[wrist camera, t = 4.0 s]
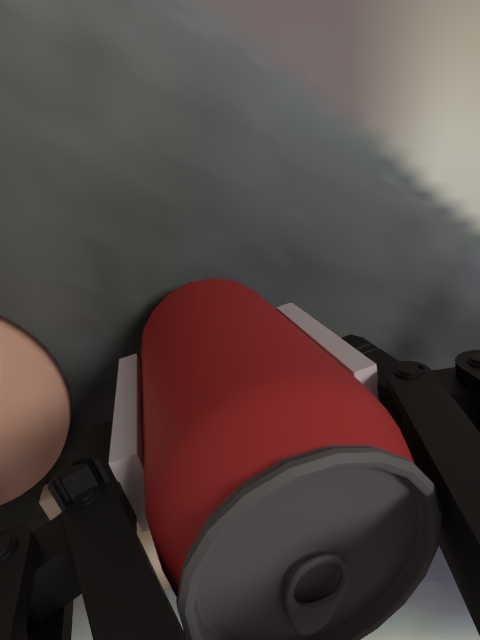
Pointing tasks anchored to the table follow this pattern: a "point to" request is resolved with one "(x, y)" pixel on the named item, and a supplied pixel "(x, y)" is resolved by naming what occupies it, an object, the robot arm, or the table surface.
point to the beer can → (273, 477)
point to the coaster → (29, 410)
